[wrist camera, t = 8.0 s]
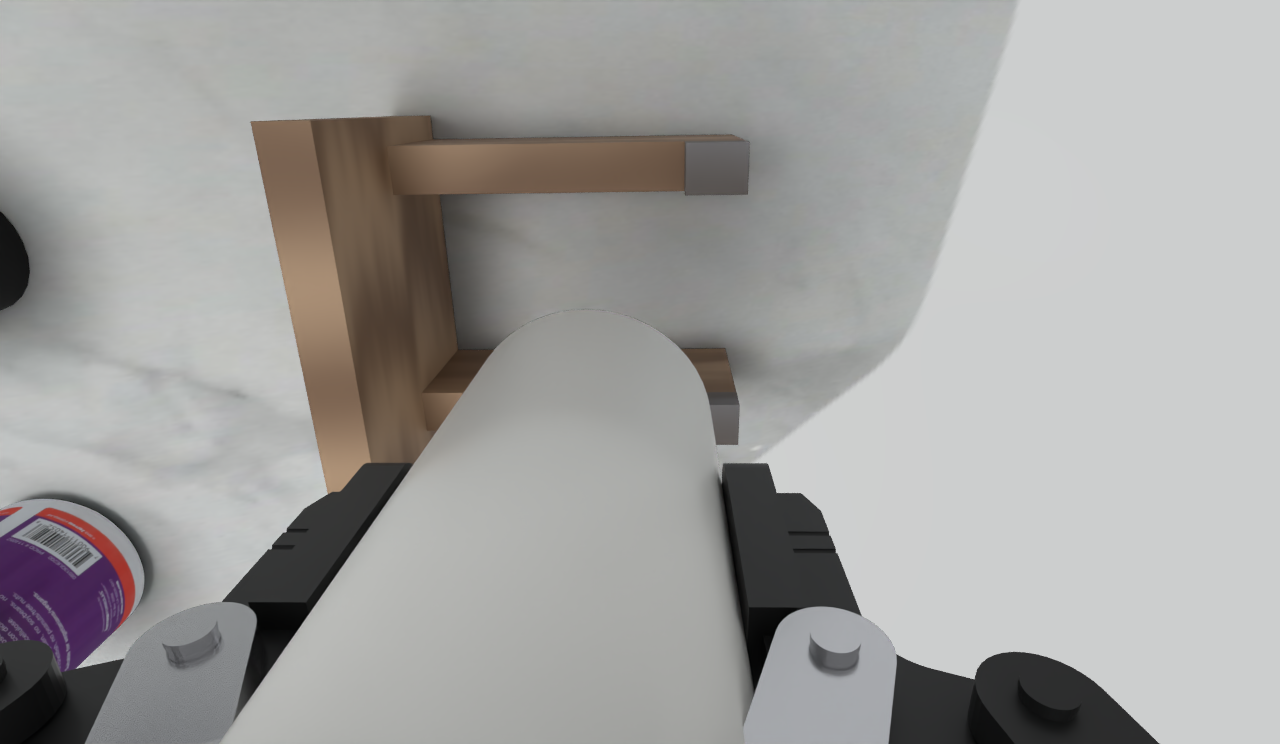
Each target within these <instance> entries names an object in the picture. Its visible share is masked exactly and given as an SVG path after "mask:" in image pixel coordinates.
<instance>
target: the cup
mask: <svg viewBox="0 0 1280 744" xmlns="http://www.w3.org/2000/svg"><path fill="white" fill-rule="evenodd" d="M28 278H29V263H28V256H27V253H26V250H25V248H24V245H23V242H22V240H21V239H20V237H19V235H18V233H17V232H16V230H15V228H14V227H13V226H12V224H11V223H10V222H9V221H8V220H7V219H6V217H5V216H4V215H3V214H2V213H1V212H0V310H3V309H5V308H7V307H9V306H11V305H13V304H14V303H15V302H16V301H17V300H18V299H19V298H20V297H22V295H23V293H24V291H25V289H26V287H27V284H28Z"/></svg>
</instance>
